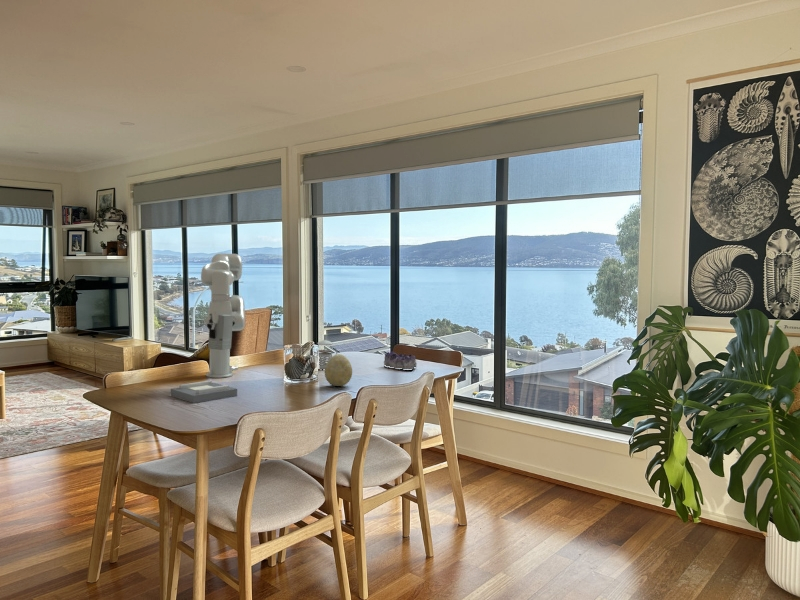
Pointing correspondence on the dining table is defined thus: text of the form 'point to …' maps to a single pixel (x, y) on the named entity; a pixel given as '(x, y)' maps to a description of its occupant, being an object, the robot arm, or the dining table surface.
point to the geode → (400, 361)
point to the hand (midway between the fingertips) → (220, 337)
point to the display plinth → (203, 396)
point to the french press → (325, 352)
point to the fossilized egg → (338, 370)
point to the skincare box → (222, 333)
